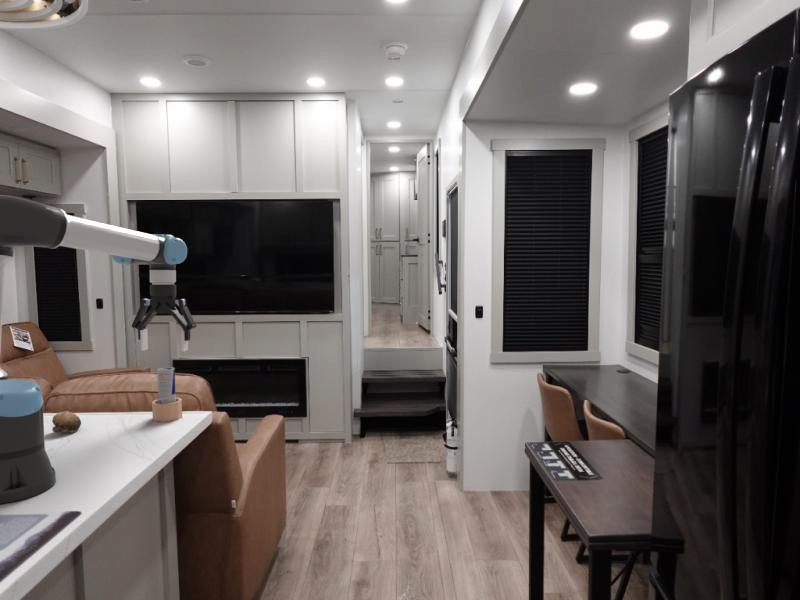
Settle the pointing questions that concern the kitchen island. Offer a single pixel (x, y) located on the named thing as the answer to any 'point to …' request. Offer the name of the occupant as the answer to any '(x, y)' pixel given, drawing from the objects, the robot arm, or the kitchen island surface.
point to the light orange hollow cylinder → (167, 410)
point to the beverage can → (166, 385)
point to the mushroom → (66, 422)
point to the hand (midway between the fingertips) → (164, 350)
